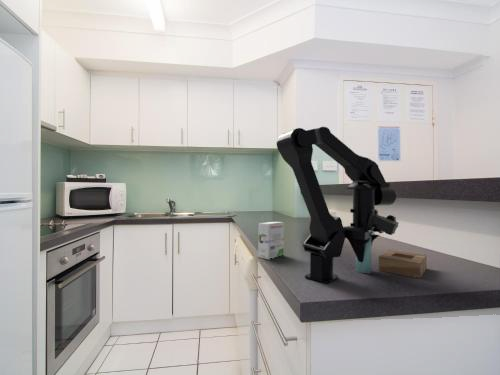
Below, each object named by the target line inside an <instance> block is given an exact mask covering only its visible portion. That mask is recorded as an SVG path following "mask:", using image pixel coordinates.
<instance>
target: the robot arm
mask: <svg viewBox="0 0 500 375" xmlns="http://www.w3.org/2000/svg"><path fill="white" fill-rule="evenodd" d="M313 145H315V147H317V148H318V149H320V150H321V151H322V152H324V153H325V154H326V155H327V156H328V157H330V158H331V159H332V160H334V161H335V162H337V163H338V165H340V166H342V168H343V169H344V173H345V175H346V176H347V177H348V178H349V179H350V180H351V181H352V182H351V184H349V185H348V186H347V187H346V189H347V190H352V208H350V214H351V213H352V222H351V223H349V224H350V225H347V226H344V224H343V221H342V219H341V217H339V216H333V215H332V214H331V213H330V210H329V208H328V205H327V202H326V200H325V196H324V194H323V192H322V188H321V186H320V182H319V180H318V177H317V175H316V172H315V169H314V166H313V163H312V160H313V153H314V148H313ZM276 148H277V150H278V152H279V155H280V157H282V159H283V160H284V162H285V163H286V164H288V165H289V167H290V168H291V169H292V172H293V174H294V176H295V180H296V182H297V184H298V188H299V190H300V193H301V196H302V198H303V201H304V204H305V207H306V209H307V212H308V214H309V216H310V222H309V233H310V234H309V235H308V237H307V238H306V240H305V241H304V242H303V243H302V247H303V250H304V252H307V253H310V256H309V258H310V261H309V271H310V272H309V273H307V274H305V275H304V278H306V279H309V280H313V281H317V282H320V283H321V282H322V283H324V284H329V283H331V282H333V281H335V280H337V279H338V278H339V275H337V274H334V258H340V257H341V254H342V252H343V248H344V243H345V240H346V239H347V240H348V242H349V245H350V246H351V248H352V250H353V253H354V254H355V258H356V257H357V259H358V261H359V262H363V260H364V254H365V248H366V244H367V243H368V242H369V241H370V240H371V248H372V246H373V243H374V241H375V240H376V239H378V238H379V237H380V236H381V235H380V234H384V233H385V234H387V235H390V236H391V235H392V236H393V235H394V234H396V230H397V228H398V227H399V224H400V223H399V221H397V218H396V216H395V215H391V214H389V215H387V216H386V217H385V216H382V215H380V214H379V210H378V209H375V208H376V206H390V205H393V204H394V203H395V201H396V200H397V193H396V191H395V190H394V188H393V187H391V184H390V182H387V181H386V179H385V177H384V175H383V173H382V171H381V169H380V168H379V165H378V164H377V162H376V161H374V160H372V159H371V158H369V157H365V156H363V155H359V154H357V153H356V152H355V151H353V150H352V149H351V148H350V147H349V146H347V145H346V144H345V143H344V142H342V141H341V140H340V139H339V138H338V137H336V136H335V135H334V134H333V133H332V132H331V130H330V129H329V128H328V127H327V126H320V127H317V128H311V129H308V130H306V129H304V128H301V127H297V128H295V129H292V130H291V129H290V130H289V131H287V132H284V133H282V134H280V135H279V136H278V139H277V141H276ZM376 233H378V234H376ZM369 236H371V238H368V237H369Z"/></svg>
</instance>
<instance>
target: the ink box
mask: <svg viewBox="0 0 500 375" xmlns="http://www.w3.org/2000/svg"><path fill="white" fill-rule="evenodd" d="M257 235H258V236H257V237H258V244H257V245H258V246H257V251H258V252H257V255H258V256H257V258H261V259H265V260H271V258H272V259H276V258H279V256H280V257H283V256H284V254H285V253H284V251H285V246H284V244H285V242H284V241H285V222H283V221H269V222H259V223H258V234H257ZM282 255H283V256H282ZM275 257H276V258H275Z"/></svg>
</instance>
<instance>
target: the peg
mask: <svg viewBox="0 0 500 375" xmlns="http://www.w3.org/2000/svg"><path fill="white" fill-rule="evenodd" d="M368 238H371V236H369V237H368ZM355 272H357V273H360V274H371V273H372V247H371V240H370V241H369V242H368V243H367V244H366V248H365V254H364V260H363V262H359V261H358V259H357V257H356V256H355Z"/></svg>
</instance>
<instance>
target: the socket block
mask: <svg viewBox="0 0 500 375" xmlns="http://www.w3.org/2000/svg"><path fill="white" fill-rule="evenodd" d="M427 261H428V259H427V254H421V253H414V252H413V253H412V252H407V251H406V252H405V251H399V250H392V249H388V250H387V251H385V252H383V253H381V254H380V255H379V256H378V271H381V272H384V273H386V272H387V273H391V274H395V275H396V274H397V275H402V276H405V275H406V276H405V277H411V276H413V277H412V278H416V277H421V278H422V277H423V275H424V273H425V272H426V271H427V269H428V268H427V267H428V266H427V265H428V264H427ZM426 268H427V269H426ZM424 271H425V272H424ZM422 274H423V275H422Z"/></svg>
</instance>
